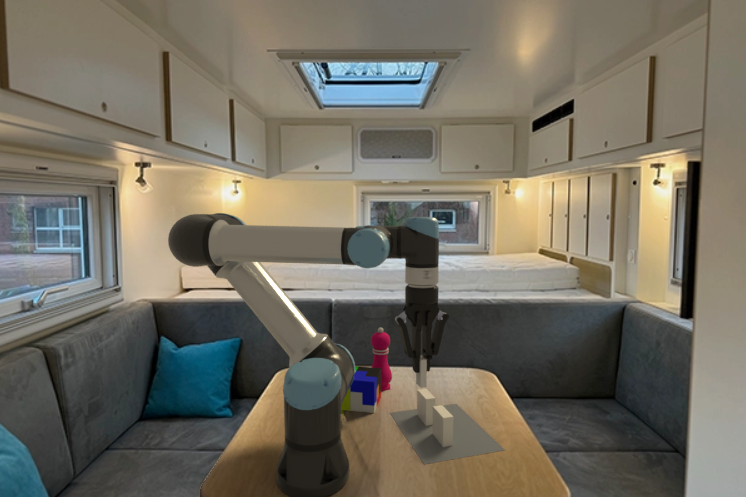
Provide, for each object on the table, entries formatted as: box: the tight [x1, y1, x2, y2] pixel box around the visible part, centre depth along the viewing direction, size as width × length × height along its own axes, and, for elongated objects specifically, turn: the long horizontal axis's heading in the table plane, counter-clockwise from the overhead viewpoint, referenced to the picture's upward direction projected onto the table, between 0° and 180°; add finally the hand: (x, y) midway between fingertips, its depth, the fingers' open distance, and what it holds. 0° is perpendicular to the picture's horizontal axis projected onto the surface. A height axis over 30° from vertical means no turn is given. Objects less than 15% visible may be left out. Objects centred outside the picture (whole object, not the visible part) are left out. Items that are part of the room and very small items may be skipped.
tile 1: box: [416, 387, 436, 426], centre depth 109 cm, size 6×3×7 cm, turn 16°
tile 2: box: [432, 404, 453, 447], centre depth 100 cm, size 6×3×7 cm, turn 16°
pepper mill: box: [370, 327, 393, 392], centre depth 129 cm, size 7×7×20 cm
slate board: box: [389, 403, 506, 465], centre depth 104 cm, size 24×20×1 cm
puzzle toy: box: [341, 365, 382, 415], centre depth 118 cm, size 10×10×10 cm
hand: (421, 384), depth 97 cm, fingers closed
